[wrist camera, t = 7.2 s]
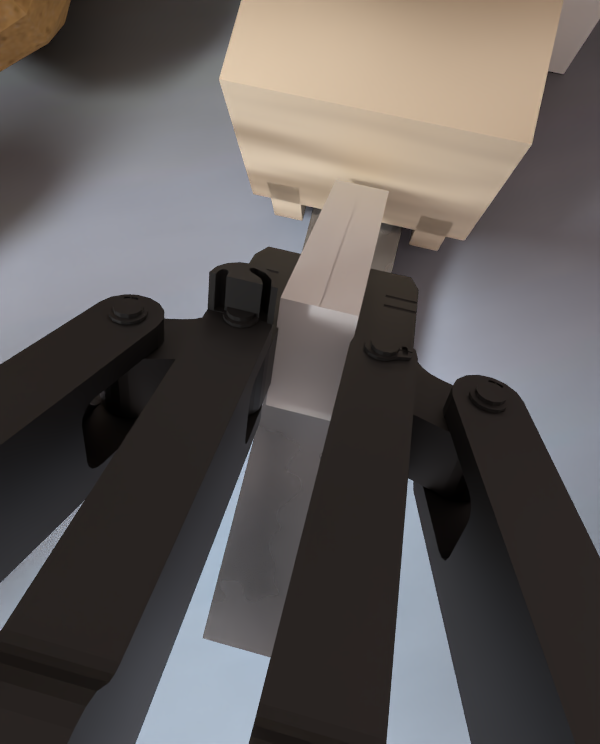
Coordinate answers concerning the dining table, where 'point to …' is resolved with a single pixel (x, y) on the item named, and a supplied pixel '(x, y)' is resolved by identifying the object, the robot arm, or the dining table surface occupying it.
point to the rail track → (273, 511)
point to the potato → (28, 26)
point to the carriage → (388, 102)
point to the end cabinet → (573, 31)
